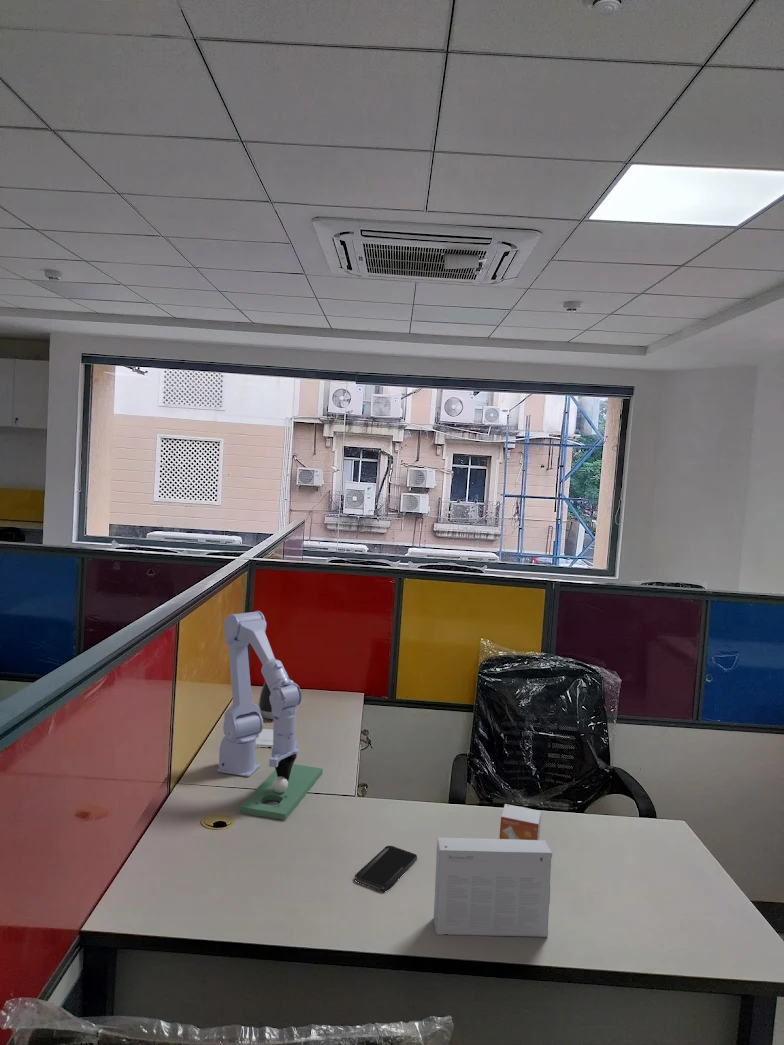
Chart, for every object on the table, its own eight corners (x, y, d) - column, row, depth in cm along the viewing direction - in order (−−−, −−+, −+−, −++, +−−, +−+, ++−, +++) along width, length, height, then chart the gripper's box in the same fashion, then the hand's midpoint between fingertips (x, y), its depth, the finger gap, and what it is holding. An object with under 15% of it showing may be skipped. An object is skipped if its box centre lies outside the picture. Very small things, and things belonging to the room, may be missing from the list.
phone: (352, 877, 138) (388, 844, 151) (352, 882, 138) (387, 849, 151) (385, 890, 134) (419, 855, 147) (385, 895, 134) (419, 860, 147)
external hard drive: (284, 735, 215) (276, 750, 202) (258, 733, 215) (249, 748, 202) (284, 730, 214) (276, 745, 202) (258, 728, 215) (249, 743, 202)
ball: (268, 778, 170) (277, 772, 174) (269, 794, 170) (278, 787, 174) (282, 781, 168) (290, 774, 172) (282, 796, 169) (291, 790, 172)
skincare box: (541, 919, 129) (546, 839, 128) (548, 938, 123) (554, 855, 122) (432, 915, 128) (436, 835, 127) (434, 935, 122) (439, 851, 121)
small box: (496, 875, 142) (500, 816, 141) (500, 859, 148) (504, 802, 147) (534, 884, 140) (539, 823, 139) (537, 867, 146) (541, 810, 145)
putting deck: (239, 812, 163) (239, 806, 163) (282, 767, 189) (282, 762, 189) (285, 820, 160) (285, 814, 160) (322, 773, 186) (322, 768, 186)
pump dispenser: (290, 722, 224) (291, 677, 223) (258, 722, 222) (260, 678, 221) (288, 711, 234) (290, 668, 233) (257, 712, 232) (259, 669, 231)
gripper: (288, 743, 164) (287, 797, 165) (308, 723, 178) (307, 773, 179) (262, 740, 165) (260, 794, 166) (284, 720, 180) (282, 770, 180)
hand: (283, 783), depth 173 cm, fingers closed, pressing on ball
